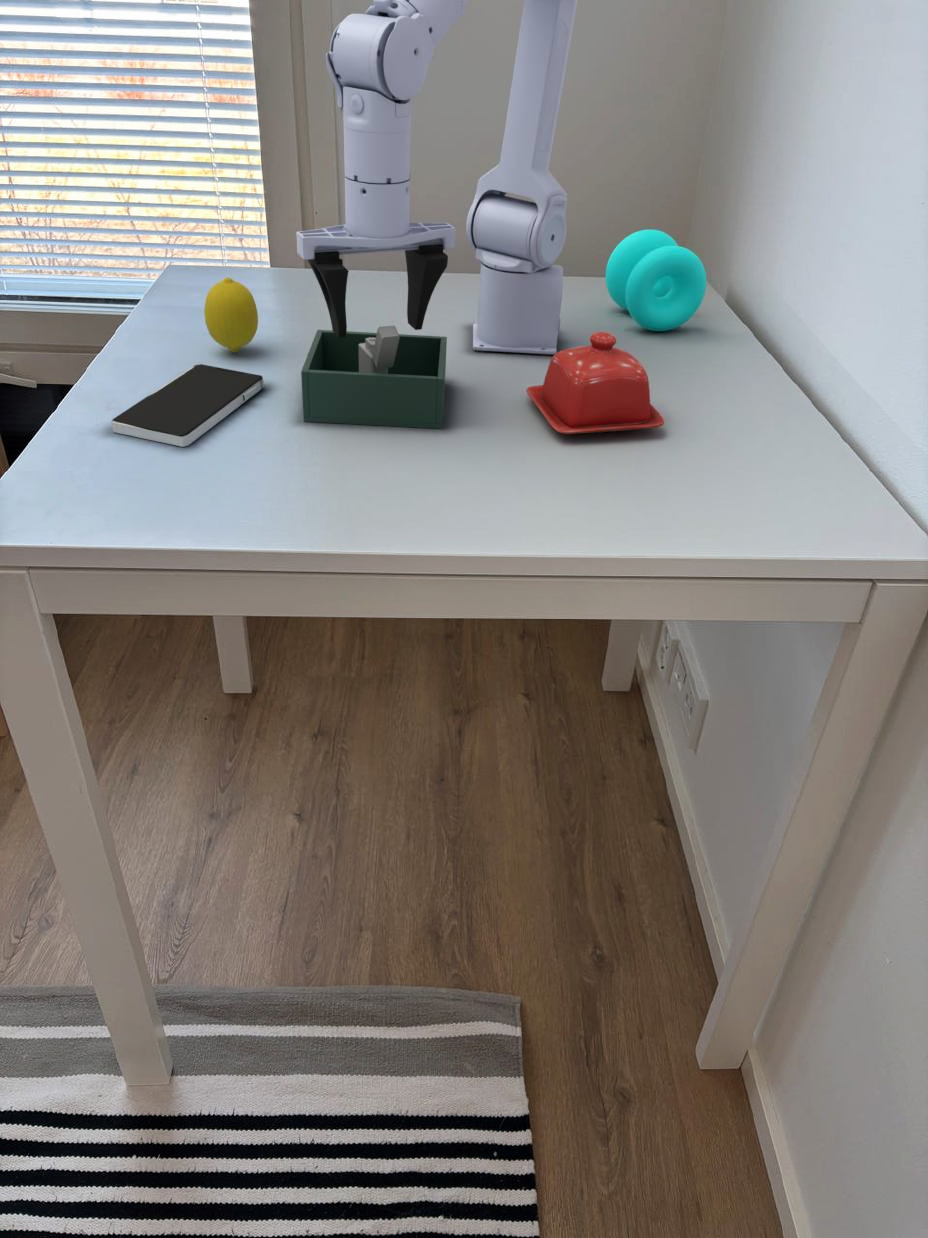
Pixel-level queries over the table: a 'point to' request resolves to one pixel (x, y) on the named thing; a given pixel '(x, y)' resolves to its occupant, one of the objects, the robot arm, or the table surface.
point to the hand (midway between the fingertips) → (377, 329)
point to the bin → (374, 382)
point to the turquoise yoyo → (655, 280)
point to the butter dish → (595, 390)
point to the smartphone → (188, 405)
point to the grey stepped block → (379, 351)
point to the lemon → (231, 314)
